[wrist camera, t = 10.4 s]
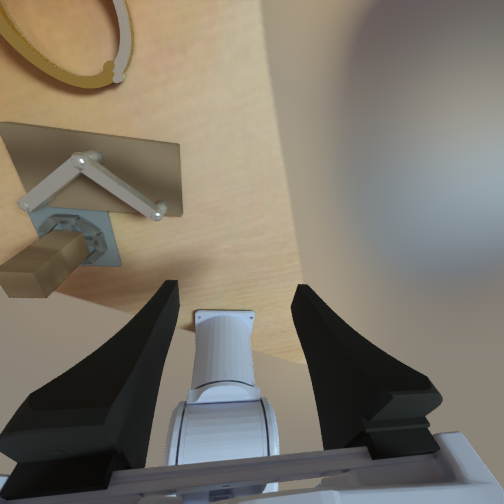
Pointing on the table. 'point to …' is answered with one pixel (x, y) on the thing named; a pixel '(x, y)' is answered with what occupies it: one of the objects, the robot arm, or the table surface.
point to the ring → (113, 70)
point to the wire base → (115, 160)
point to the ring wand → (51, 257)
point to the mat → (94, 217)
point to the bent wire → (94, 170)
